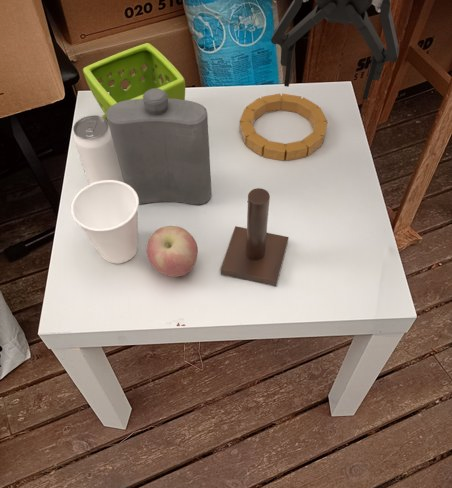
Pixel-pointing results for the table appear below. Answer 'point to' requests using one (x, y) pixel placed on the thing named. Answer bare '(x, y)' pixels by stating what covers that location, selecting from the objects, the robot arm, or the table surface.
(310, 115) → the hoop
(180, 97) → the flower pot
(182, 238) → the apple
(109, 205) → the cup
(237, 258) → the peg stand
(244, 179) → the table surface
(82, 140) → the can
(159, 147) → the flask
